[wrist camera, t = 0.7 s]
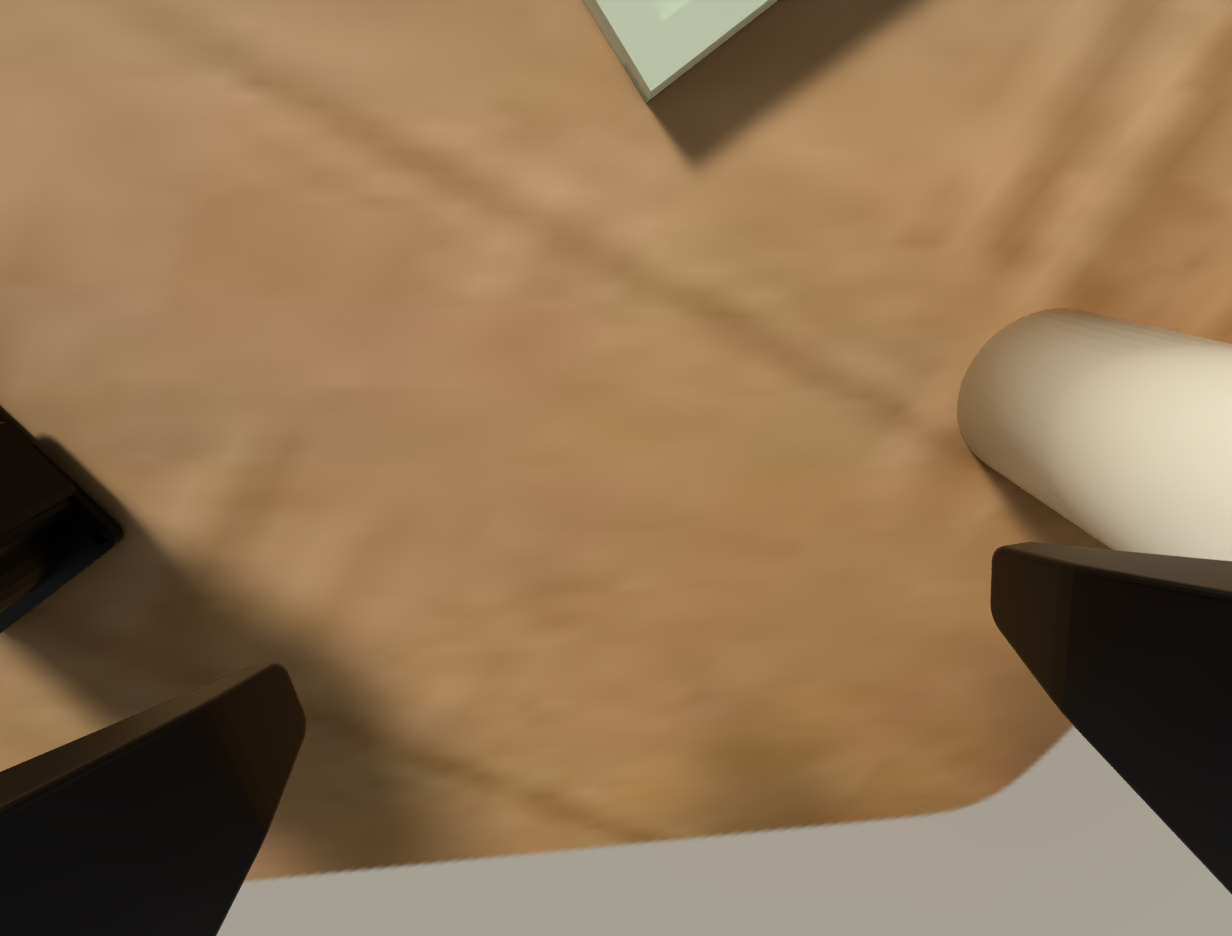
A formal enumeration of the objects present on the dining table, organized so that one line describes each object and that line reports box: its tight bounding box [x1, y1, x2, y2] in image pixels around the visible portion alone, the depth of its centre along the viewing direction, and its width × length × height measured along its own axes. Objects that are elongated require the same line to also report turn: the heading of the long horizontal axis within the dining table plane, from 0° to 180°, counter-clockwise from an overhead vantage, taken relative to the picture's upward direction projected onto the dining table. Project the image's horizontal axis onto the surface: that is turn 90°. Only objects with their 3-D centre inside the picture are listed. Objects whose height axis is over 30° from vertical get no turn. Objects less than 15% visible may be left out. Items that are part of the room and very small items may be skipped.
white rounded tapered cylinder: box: [957, 309, 1232, 561], centre depth 15 cm, size 5×5×12 cm
